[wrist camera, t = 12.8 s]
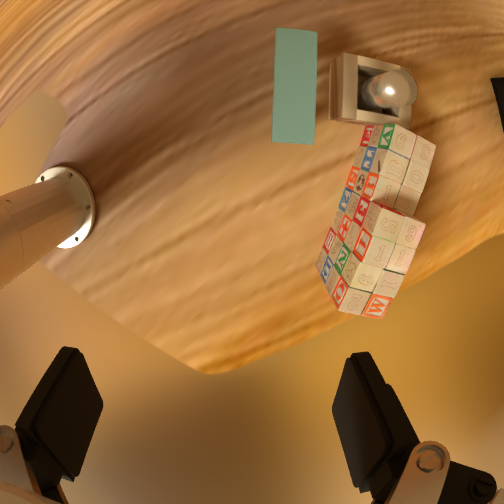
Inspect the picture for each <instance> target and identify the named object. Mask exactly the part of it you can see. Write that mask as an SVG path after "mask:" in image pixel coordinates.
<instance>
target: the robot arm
mask: <svg viewBox="0 0 504 504" xmlns="http://www.w3.org/2000/svg"><path fill="white" fill-rule="evenodd" d="M72 175H73V176H72ZM95 213H96V210H95V201H94V196H93V193H92V190H91V188H90V186H89V184H88V182H87V181H86V180H85V178H84V177H83V176H82V175H81V174H80V173H79V172H77V171H76V170H74V169H72V168H70V167H66V166H57V167H52V168H50V169H47V170H46V171H44V172H43V173H42V174H41V175H40V176H39V177H38V179H37V180H36V182H35V184H32V185H30V186H27V187H24V188H21V189H18V190H15V191H13V192H10V193H7V194H5V195H2V196H0V291H1V290H2V289H3V288H4V287H5V286H7V285H8V284H9V283H10V282H11V281H13V280H14V279H15V278H17V277H18V276H19V275H20V274H22V273H23V272H24V271H25V270H27V269H28V268H29V267H31V266H32V265H33V264H35V263H36V262H37V261H39V260H40V259H41V258H43V257H44V256H45V255H47V254H48V253H49V252H51V251H52V250H54V249H55V248H56V247H61V248H71V247H74V246H76V245H78V244H79V243H81V242H82V241H83V240H84V239H86V237H87V236H88V235H89V234H90V232H91V230H92V228H93V224H94V221H95ZM102 409H103V400H102V398H101V396H100V394H99V391H98V389H97V387H96V385H95V382H94V380H93V378H92V375H91V373H90V371H89V368H88V366H87V363H86V361H85V358H84V355H83V354H82V353H80V351H79V350H78V349H77V348H72V347H65V346H64V347H62V348H61V350H60V351H59V353H58V354H57V355H56V357H55V358H54V360H53V362H52V363H51V365H50V366H49V368H48V369H47V371H46V372H45V374H44V376H43V377H42V379H41V380H40V382H39V384H38V385H37V387H36V389H35V390H34V392H33V394H32V395H31V397H30V399H29V400H28V402H27V404H26V406H25V407H24V409H23V411H22V413H21V415H20V416H19V418H18V420H17V422H16V423H15V426H16V428H15V430H14V429H13V428H12V427H10V426H7V425H0V504H69V503H68V501H67V499H66V497H65V494H64V492H63V490H62V488H61V485H60V480H61V478H63V479H66V480H69V481H72V482H74V479H75V477H77V476H78V475H79V474H80V471H81V468H82V465H83V462H84V459H85V456H86V453H87V450H88V447H89V444H90V441H91V439H92V436H93V433H94V431H95V428H96V425H97V422H98V420H99V417H100V414H101V412H102ZM332 414H333V417H334V420H335V423H336V427H337V430H338V434H339V437H340V440H341V444H342V447H343V451H344V454H345V457H346V461H347V464H348V468H349V471H350V475H351V478H352V482H353V485H354V487H356V488H357V487H359V490H360V493H363V492H368V491H370V492H371V495H372V498H373V501H372V502H371V504H504V489H502V488H501V489H500V490H497V486H496V481H495V479H494V477H493V476H492V475H491V474H489V473H487V472H484V471H480V470H477V469H474V468H471V467H468V466H465V465H462V464H459V463H456V462H453V461H450V455H449V452H448V450H447V449H446V447H444V446H443V445H442V444H440V443H438V442H435V441H424V442H422V443H420V441H419V439H418V437H417V435H416V433H415V431H414V429H413V427H412V425H411V423H410V421H409V419H408V417H407V415H406V413H405V411H404V409H403V407H402V406H401V403H400V401H399V399H398V397H397V395H396V394H395V392H394V390H393V388H392V387H391V385H389V384H386V383H385V381H384V379H383V377H382V375H381V373H380V371H379V369H378V367H377V366H376V364H375V362H374V360H373V358H372V356H371V354H370V353H369V352H360V353H352V355H351V357H350V358H347V359H346V362H345V366H344V369H343V372H342V376H341V379H340V383H339V386H338V389H337V393H336V396H335V399H334V402H333V405H332Z"/></svg>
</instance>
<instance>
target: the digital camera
mask: <svg viewBox="0 0 504 504" xmlns="http://www.w3.org/2000/svg"><path fill="white" fill-rule="evenodd" d="M491 83H492V86H493V90H494V93H495V97H496V101H497V105H498V109H499V113H500V117H501V122H502V127H503V132H504V77H502V78H492V79H491Z"/></svg>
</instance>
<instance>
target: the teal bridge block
mask: <svg viewBox="0 0 504 504" xmlns="http://www.w3.org/2000/svg"><path fill="white" fill-rule="evenodd" d="M316 84H317V32H314V31H307V30H299V29H290V28H279V27H276V30H275V59H274V87H273V112H272V136H271V142H281V143H296V144H308V145H314V133H315V112H316Z"/></svg>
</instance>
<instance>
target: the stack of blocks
mask: <svg viewBox="0 0 504 504" xmlns="http://www.w3.org/2000/svg"><path fill="white" fill-rule="evenodd" d="M435 149H436V145H434V144H433V143H431V142H429V141H428V140H426V139H424V138H422V137H420V136H419V135H416V134H414V133H412V132H411V131H409V130H407V129H405V128H403V127H401V126H399V125H397V124H384V125H367V126H366V127H365V130H364V134H363V137H362V140H361V144H360V146H359V148H358V151H357V154H356V157H355V160H354V163H353V166H352V169H351V171H350V174H349V177H348V180H347V183H346V188H345V190H344V193H343V196H342V199H341V201H340V204H339V208H338V210H337V213H336V215H335V218H334V221H333V223H332V226H331V228H330V230H329V232H328V235H327V238H326V240H325V243H324V245H323V248H322V250H321V252H320V255H319V257H318V260H317V262H316V268H317V269H318V272H319V273H320V275H321V277H322V279H323V281H324V283H325V286H326V288H327V291H328V293H329V295H330V297H331V298H332V299H333V301H334V303H335V305H336V308H337V310H338V311H342V312H347V313H351V314H355V315H362V316H366V317H371V318H376V319H382V318H383V317H384V315H385V313H386V311H387V309H388V307H389V305H390V303H391V301H392V299H393V298H394V297H395V296H396V293H397V292H398V290H399V287H400V285H401V283H402V281H403V279H404V276H405V275H404V274H405V273H406V272H407V270H408V268H409V266H410V263H411V261H412V259H413V256H414V254H415V251H416V248H417V246H418V244H419V241H420V239H421V236H422V234H423V231H424V228H425V226H426V224H425V223H423V222H422V221H420V220H419V219H417V218H415V217H414V216H413V215H414V213H415V210H416V207H417V204H418V202H419V199H420V196H421V193H422V192H423V189H424V186H425V183H426V180H427V177H428V174H429V171H430V169H429V168H430V166H431V163H432V159H433V156H434V153H435Z"/></svg>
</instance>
